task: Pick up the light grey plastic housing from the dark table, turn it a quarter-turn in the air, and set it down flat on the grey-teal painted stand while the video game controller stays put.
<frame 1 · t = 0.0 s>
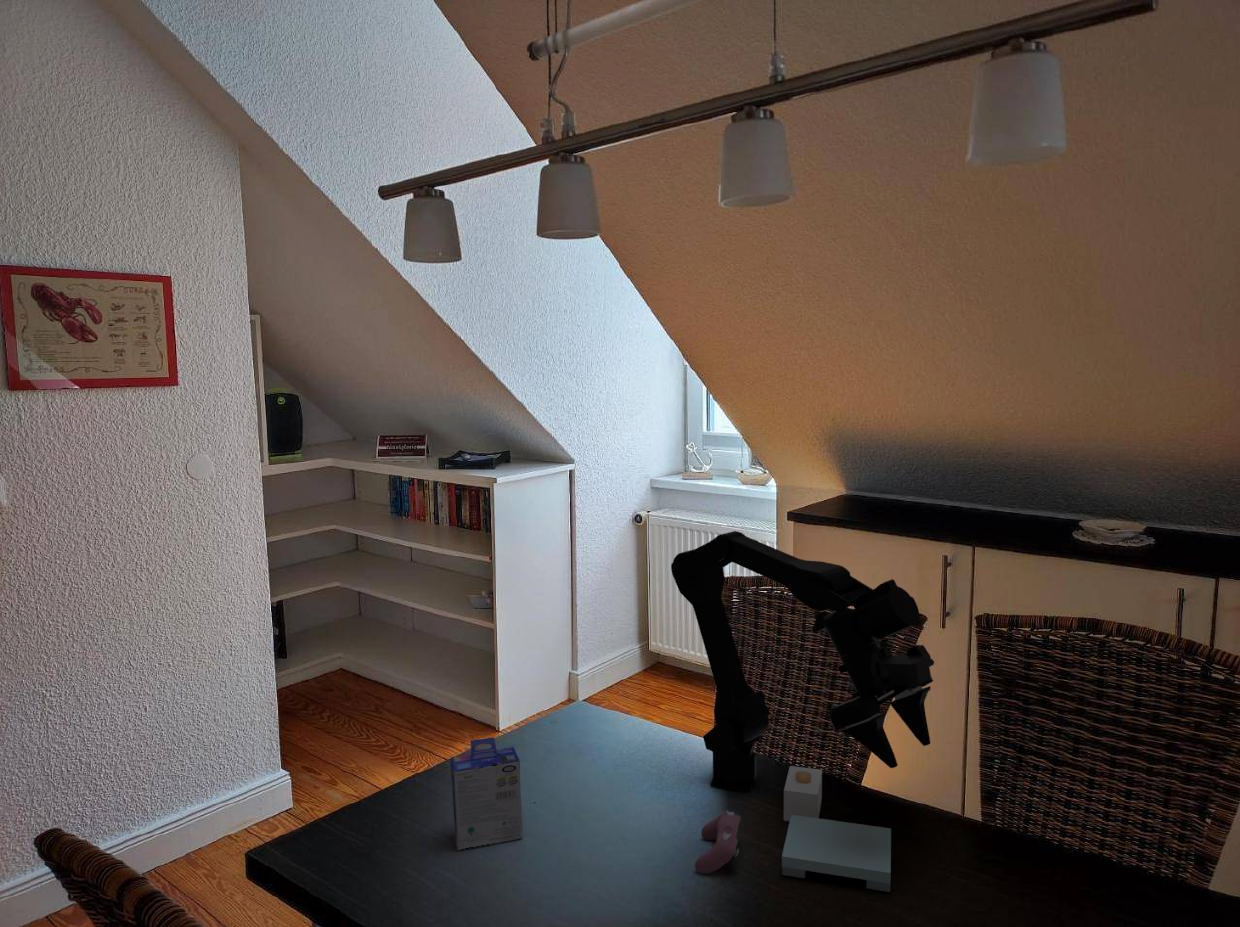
hand: (911, 755, 119), 15 cm above the table, tool tilted 35°, fingers open, 9 cm apart
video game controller: (719, 858, 122), on the table
grey housing: (803, 810, 134), on the table
teal stand: (837, 862, 120), on the table
ink cartridge box: (488, 837, 129), on the table
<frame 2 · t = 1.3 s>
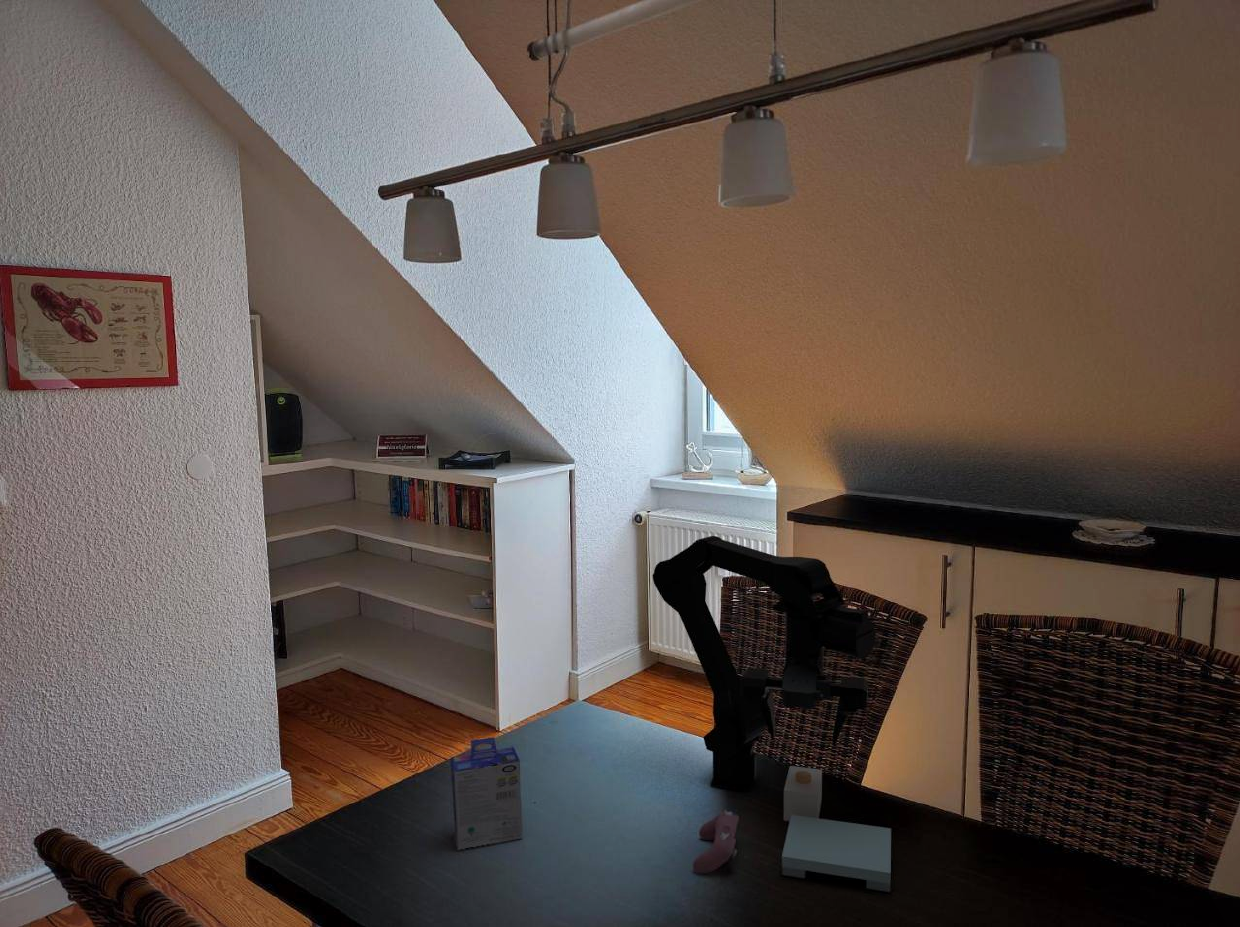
hand: (803, 740, 133), 11 cm above the table, tool pointing down, fingers open, 9 cm apart
nothing on the table moved.
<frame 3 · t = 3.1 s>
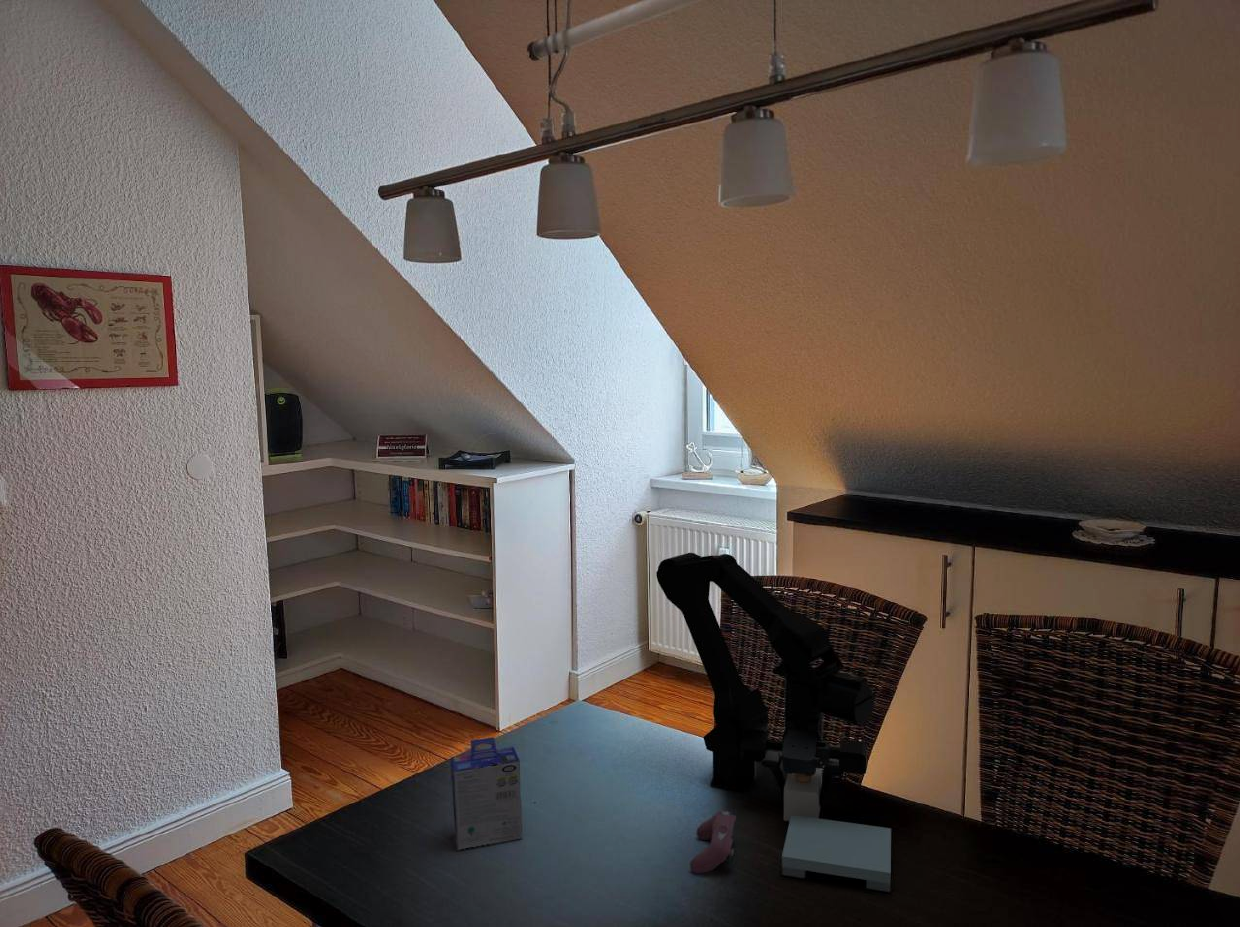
hand: (803, 802, 134), 1 cm above the table, tool pointing down, fingers closed on grey housing, 5 cm apart
grey housing: (803, 809, 134), on the table, touching gripper
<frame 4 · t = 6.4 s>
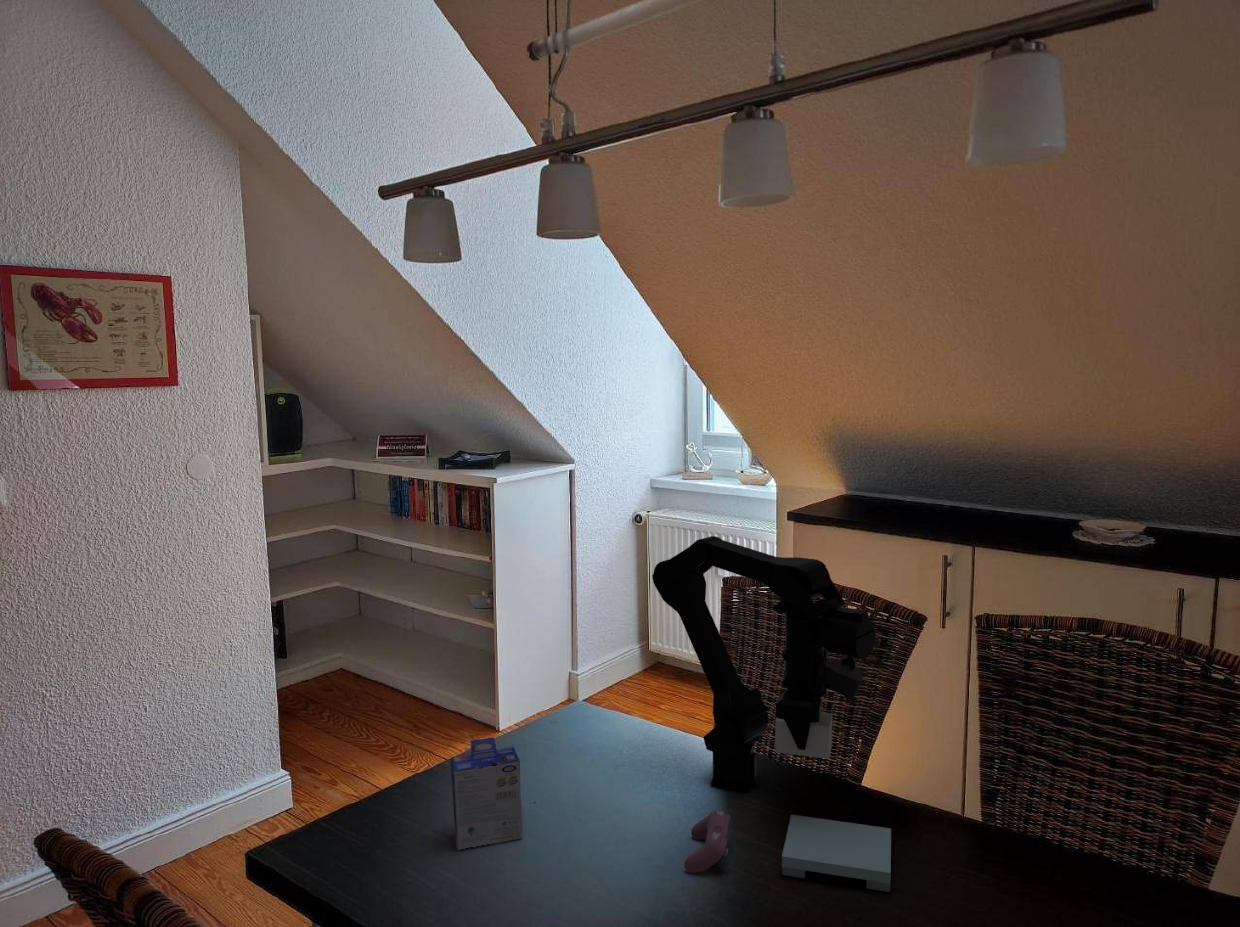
hand: (803, 741, 133), 11 cm above the table, tool pointing down, fingers closed on grey housing, 5 cm apart
grey housing: (803, 748, 133), point 10 cm above the table, touching gripper
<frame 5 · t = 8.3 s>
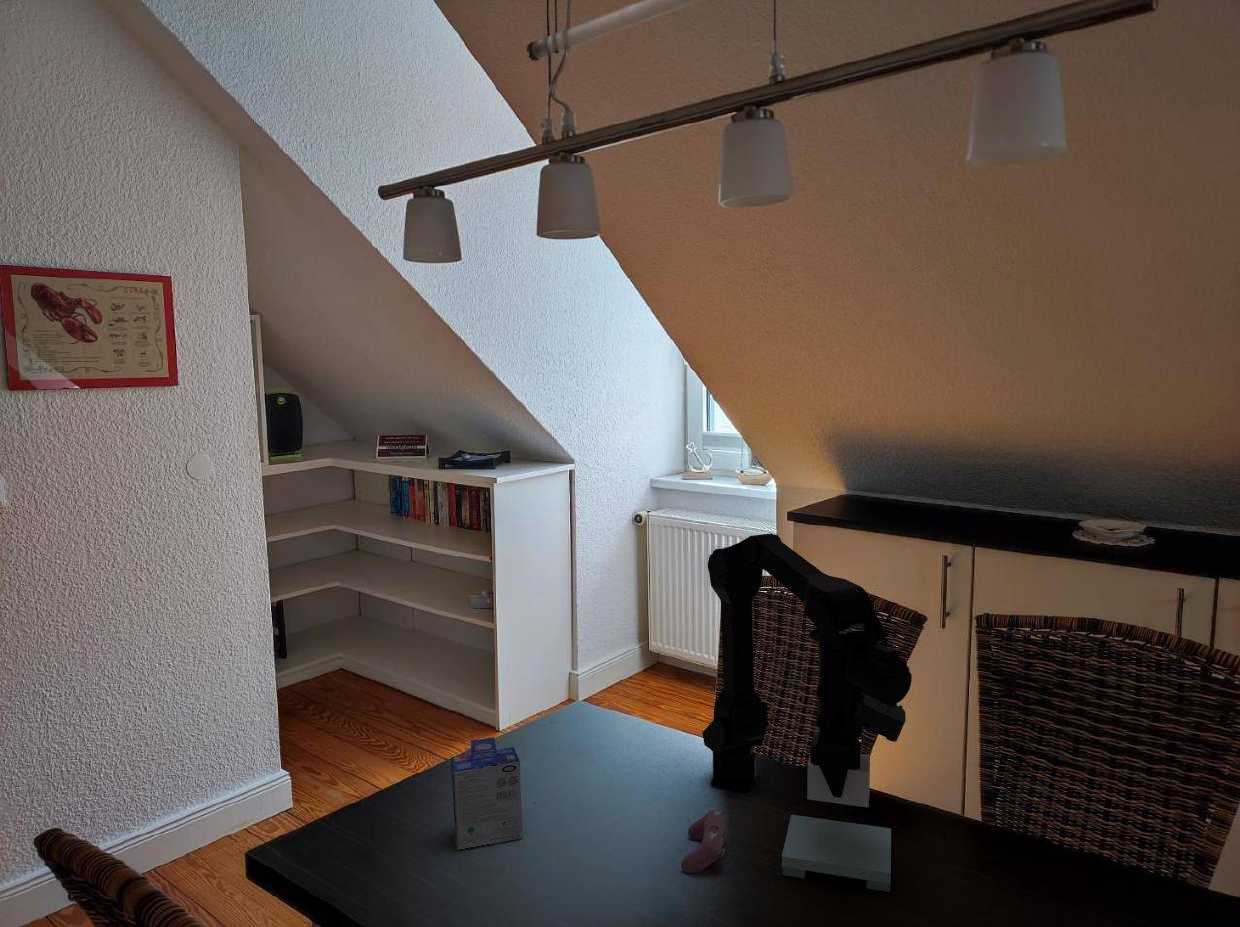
hand: (838, 787, 119), 11 cm above the table, tool pointing down, fingers closed on grey housing, 5 cm apart
grey housing: (838, 794, 119), point 10 cm above the table, touching gripper
when the fingers open (5 cm above the table, at t = 10.0 s): grey housing stays where it is, resting on teal stand.
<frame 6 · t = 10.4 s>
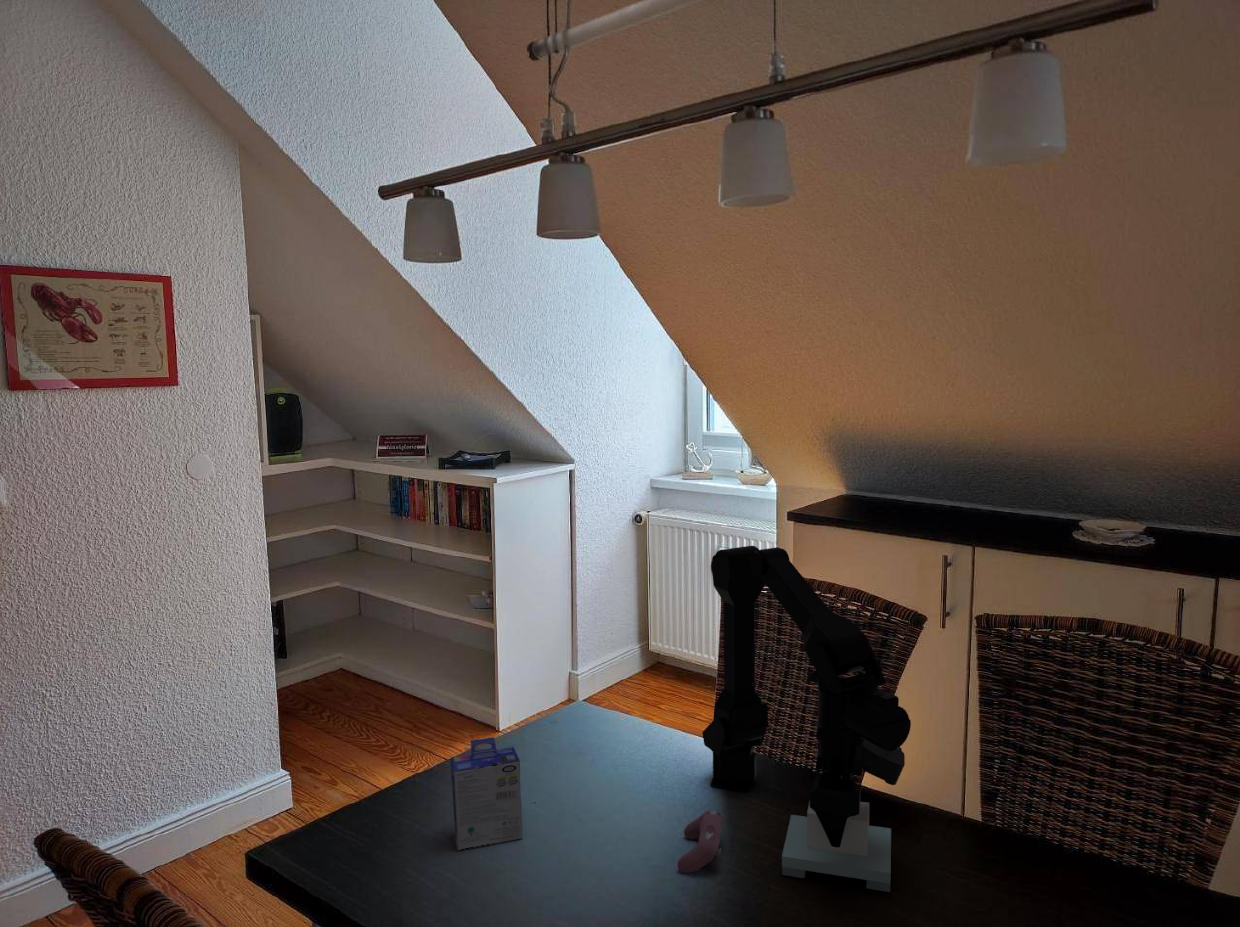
hand: (837, 828, 120), 5 cm above the table, tool pointing down, fingers open, 9 cm apart
grey housing: (838, 841, 120), point 3 cm above the table, touching teal stand
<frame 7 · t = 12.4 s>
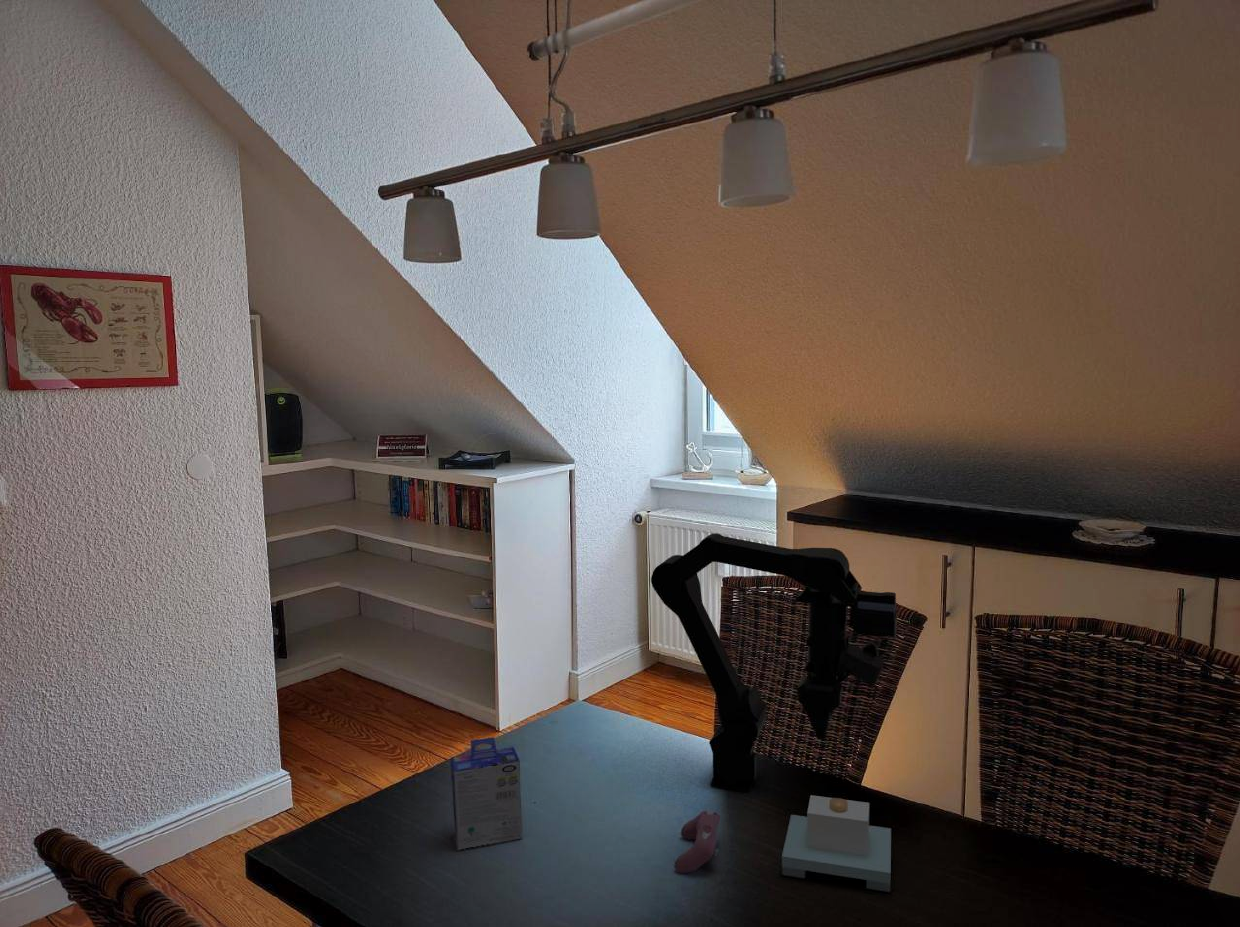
hand: (825, 726, 137), 12 cm above the table, tool pointing down, fingers open, 9 cm apart
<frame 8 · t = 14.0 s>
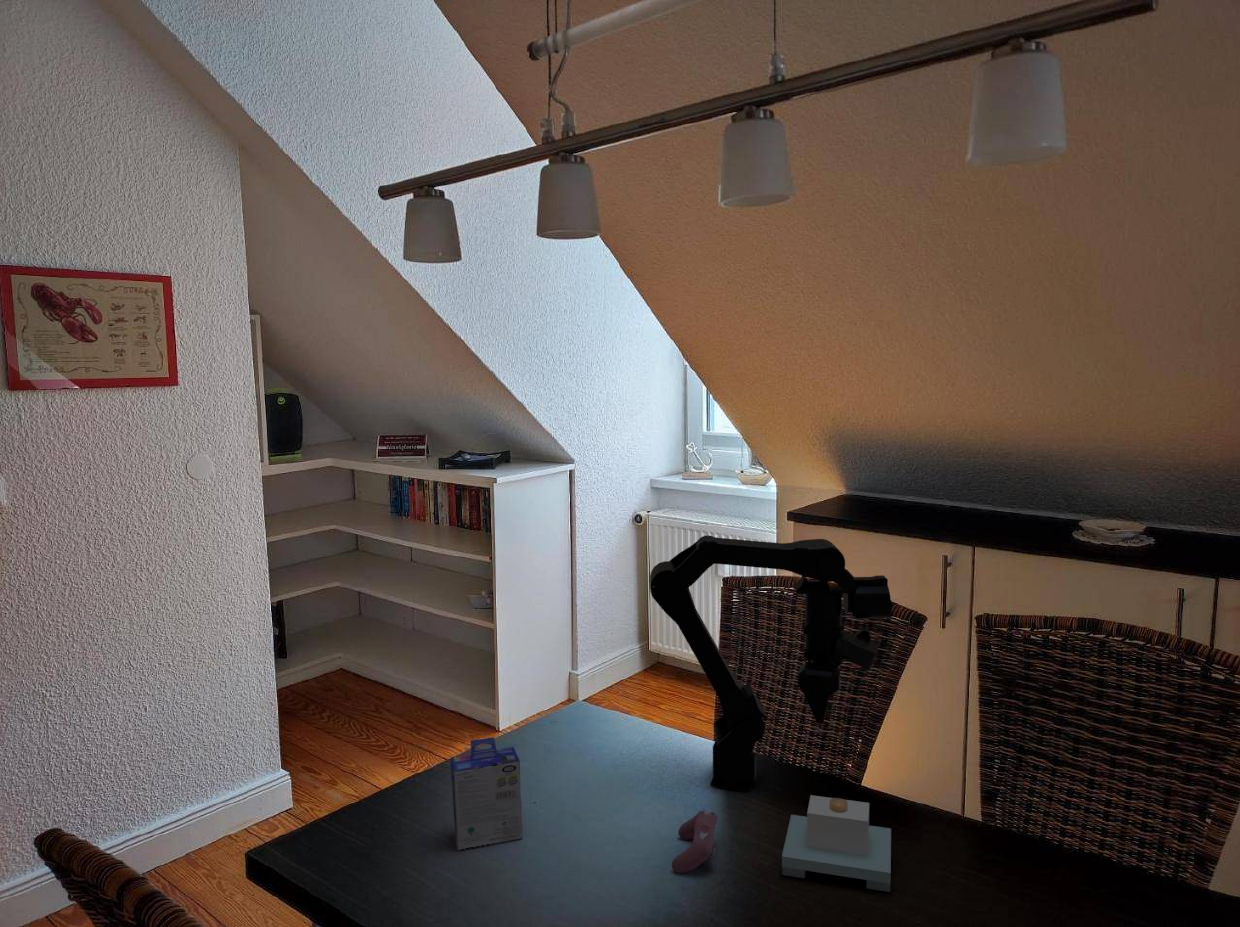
hand: (822, 711, 142), 12 cm above the table, tool pointing down, fingers open, 9 cm apart
at the end: grey housing inside the target area on the teal stand (0.0 cm from its centre), point 3.0 cm above the teal stand's base; grey housing touching teal stand; grey housing tilted 0° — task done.
